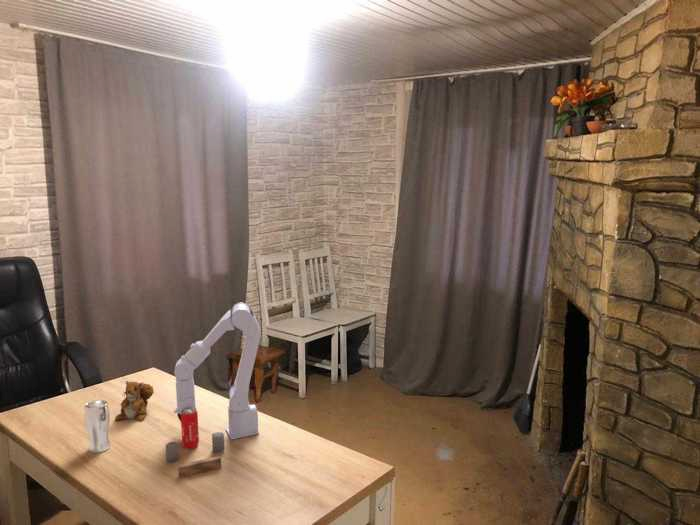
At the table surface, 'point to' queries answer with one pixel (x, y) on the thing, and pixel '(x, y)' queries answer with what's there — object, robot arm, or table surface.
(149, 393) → the stuffed squirrel
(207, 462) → the walnut rail
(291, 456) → the table surface
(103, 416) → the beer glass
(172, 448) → the bollard
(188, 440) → the beverage can
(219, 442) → the bollard
